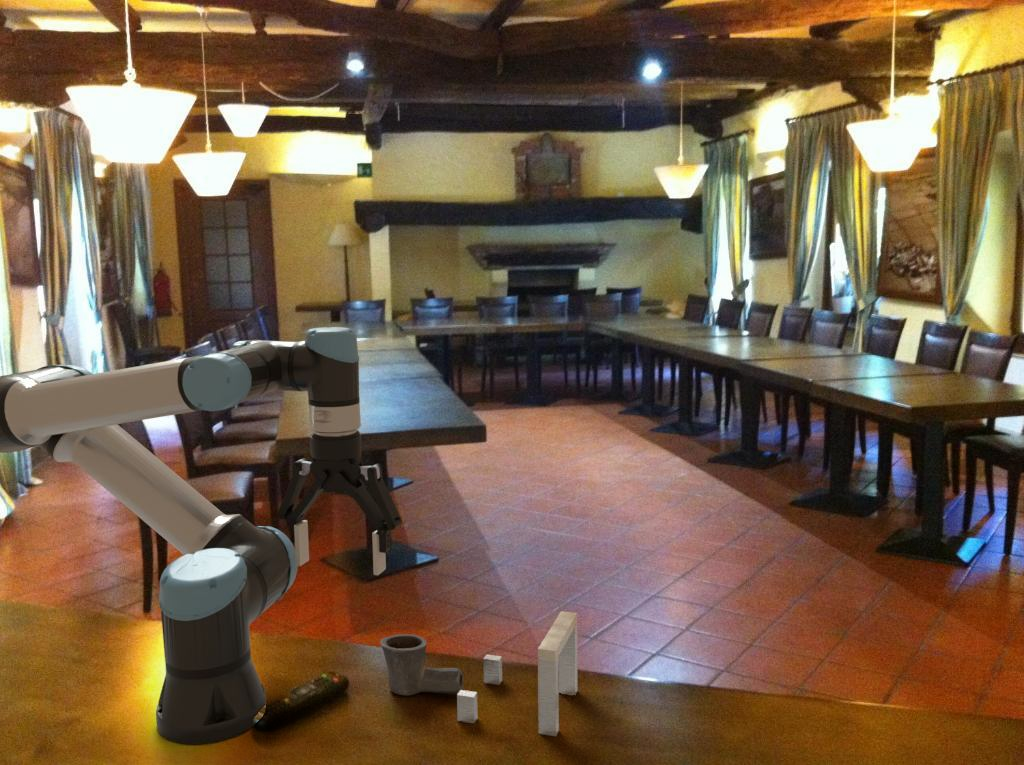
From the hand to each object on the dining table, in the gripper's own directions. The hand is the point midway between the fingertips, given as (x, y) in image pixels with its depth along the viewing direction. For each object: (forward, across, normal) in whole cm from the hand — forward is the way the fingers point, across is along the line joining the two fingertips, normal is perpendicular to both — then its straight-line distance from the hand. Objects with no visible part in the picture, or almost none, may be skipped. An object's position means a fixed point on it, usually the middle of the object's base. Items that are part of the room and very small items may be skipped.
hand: (340, 567), depth 135 cm
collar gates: (+18, +29, 0) cm, 34 cm away
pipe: (+19, +13, 0) cm, 23 cm away
